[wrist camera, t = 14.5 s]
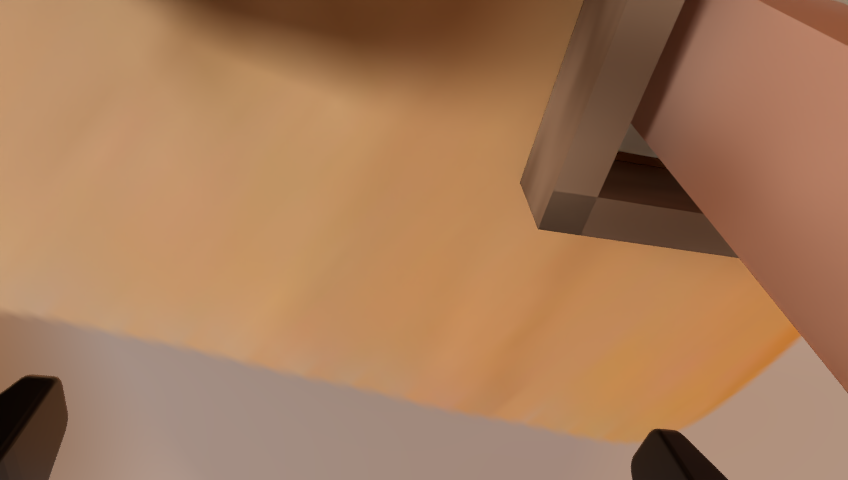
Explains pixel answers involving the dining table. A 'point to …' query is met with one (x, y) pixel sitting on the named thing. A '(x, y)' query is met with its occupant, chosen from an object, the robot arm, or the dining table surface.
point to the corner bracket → (611, 137)
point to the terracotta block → (765, 147)
